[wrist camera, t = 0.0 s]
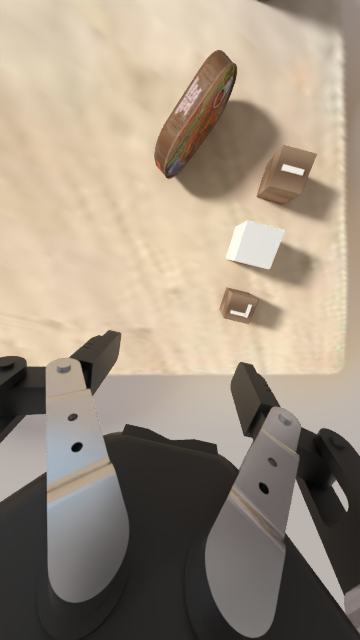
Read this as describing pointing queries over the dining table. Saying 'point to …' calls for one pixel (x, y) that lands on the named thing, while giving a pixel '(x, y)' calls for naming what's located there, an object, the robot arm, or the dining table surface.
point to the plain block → (255, 244)
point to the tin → (195, 113)
